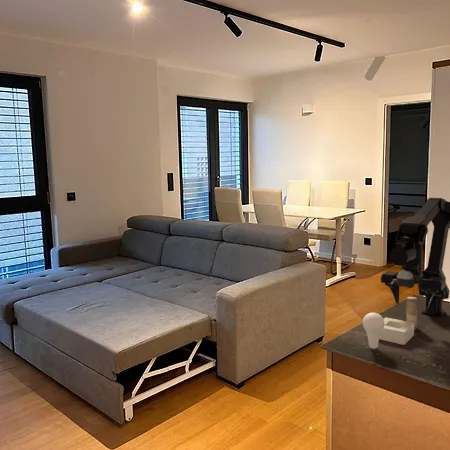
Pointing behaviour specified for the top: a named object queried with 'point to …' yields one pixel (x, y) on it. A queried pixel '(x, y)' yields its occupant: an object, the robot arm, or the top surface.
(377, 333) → the lightbulb
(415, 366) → the top surface
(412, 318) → the dowel
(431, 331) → the top surface
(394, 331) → the socket
